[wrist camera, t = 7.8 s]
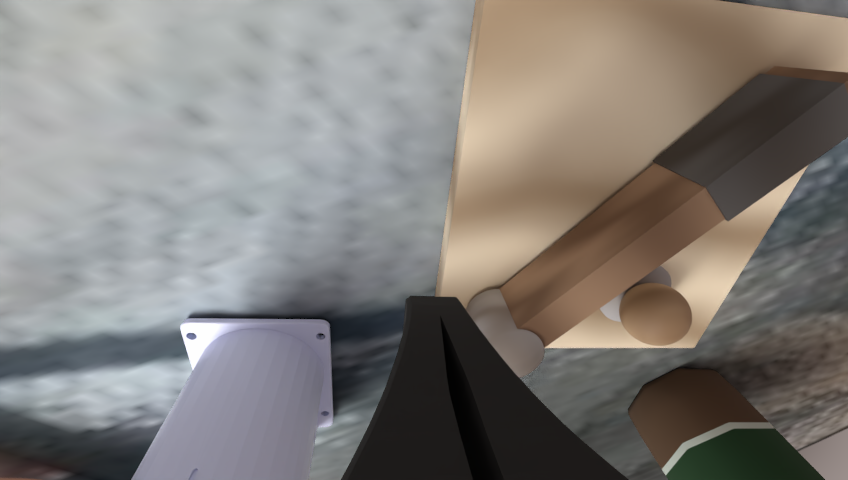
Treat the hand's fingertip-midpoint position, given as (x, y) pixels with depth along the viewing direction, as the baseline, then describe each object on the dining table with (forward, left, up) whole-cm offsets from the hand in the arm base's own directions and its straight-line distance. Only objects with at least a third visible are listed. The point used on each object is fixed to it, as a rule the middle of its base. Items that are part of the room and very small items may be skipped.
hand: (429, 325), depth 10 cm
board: (0, -10, -9) cm, 14 cm away
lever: (0, -10, -8) cm, 12 cm away
